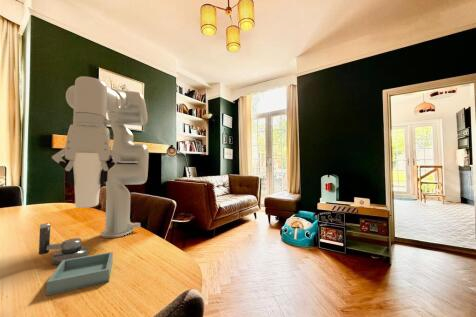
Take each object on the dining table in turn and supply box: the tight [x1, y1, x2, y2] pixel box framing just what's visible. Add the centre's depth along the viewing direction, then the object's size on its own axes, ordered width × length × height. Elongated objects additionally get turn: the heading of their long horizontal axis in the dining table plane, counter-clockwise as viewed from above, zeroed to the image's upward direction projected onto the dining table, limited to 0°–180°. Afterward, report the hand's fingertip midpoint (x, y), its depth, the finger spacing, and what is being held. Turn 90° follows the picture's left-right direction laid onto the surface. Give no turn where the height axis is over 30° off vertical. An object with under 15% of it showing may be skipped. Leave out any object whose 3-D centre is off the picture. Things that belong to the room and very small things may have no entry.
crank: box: [38, 222, 82, 256], centre depth 65 cm, size 11×5×9 cm, turn 112°
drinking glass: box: [73, 153, 103, 209], centre depth 56 cm, size 7×7×15 cm
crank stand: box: [51, 245, 89, 267], centre depth 68 cm, size 16×9×3 cm, turn 38°
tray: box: [45, 251, 114, 297], centre depth 55 cm, size 12×12×3 cm
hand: (87, 184), depth 56 cm, fingers closed on drinking glass, 6 cm apart
